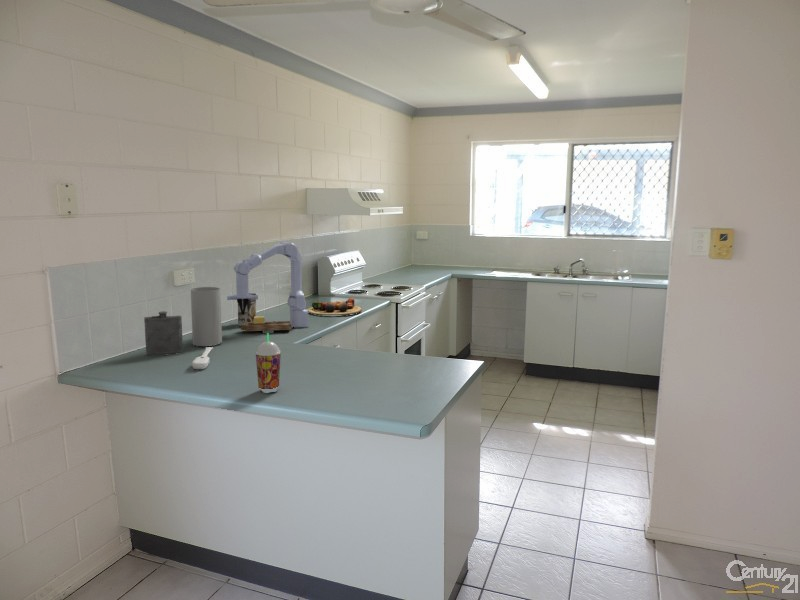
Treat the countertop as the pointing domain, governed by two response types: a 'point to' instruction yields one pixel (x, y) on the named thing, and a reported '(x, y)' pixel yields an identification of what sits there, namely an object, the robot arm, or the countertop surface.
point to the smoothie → (268, 364)
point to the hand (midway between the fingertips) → (243, 314)
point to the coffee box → (247, 311)
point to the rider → (259, 319)
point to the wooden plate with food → (334, 308)
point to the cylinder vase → (206, 316)
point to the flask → (163, 334)
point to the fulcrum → (268, 331)
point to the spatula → (202, 359)
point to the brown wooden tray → (266, 326)
